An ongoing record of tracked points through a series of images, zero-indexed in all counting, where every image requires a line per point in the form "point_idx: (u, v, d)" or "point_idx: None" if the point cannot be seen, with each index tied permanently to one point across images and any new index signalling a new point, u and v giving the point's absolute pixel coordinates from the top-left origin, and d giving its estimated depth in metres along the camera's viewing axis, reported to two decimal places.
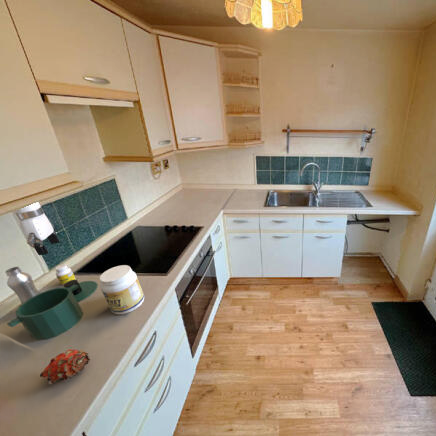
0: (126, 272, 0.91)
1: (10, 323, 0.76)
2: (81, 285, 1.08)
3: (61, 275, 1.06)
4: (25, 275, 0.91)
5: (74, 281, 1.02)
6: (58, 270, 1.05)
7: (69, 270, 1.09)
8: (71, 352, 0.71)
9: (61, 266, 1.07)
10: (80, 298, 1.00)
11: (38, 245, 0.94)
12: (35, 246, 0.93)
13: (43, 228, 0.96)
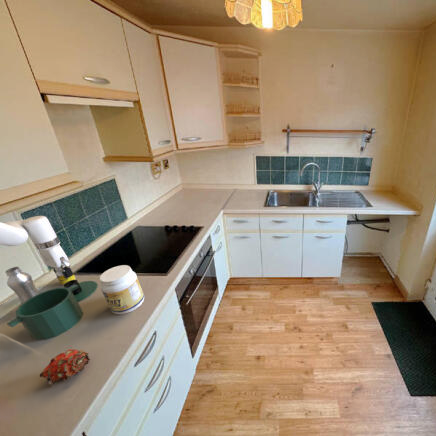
0: (126, 272, 0.91)
1: (10, 323, 0.76)
2: (81, 285, 1.08)
3: (61, 275, 1.06)
4: (25, 275, 0.91)
5: (74, 281, 1.02)
6: (58, 270, 1.05)
7: None
8: (71, 352, 0.71)
9: None
10: (80, 298, 1.00)
11: None
12: (67, 268, 1.05)
13: None
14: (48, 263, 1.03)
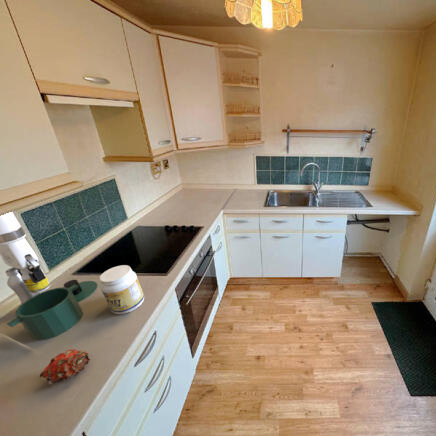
0: (126, 272, 0.91)
1: (10, 323, 0.76)
2: (81, 285, 1.08)
3: (28, 279, 0.80)
4: None
5: (74, 281, 1.02)
6: (24, 272, 0.79)
7: None
8: (71, 352, 0.71)
9: None
10: (80, 298, 1.00)
11: None
12: (36, 270, 0.79)
13: None
14: (9, 263, 0.77)
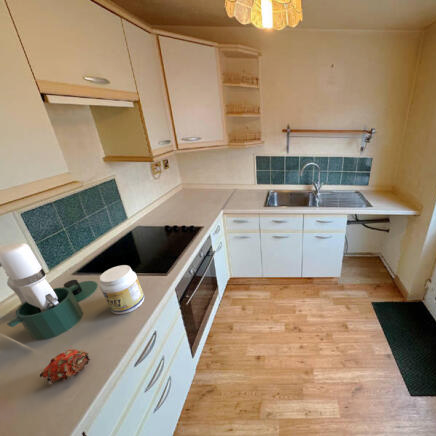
0: (126, 272, 0.91)
1: (10, 323, 0.76)
2: (81, 285, 1.08)
3: None
4: None
5: (74, 281, 1.02)
6: (43, 309, 0.83)
7: None
8: (71, 352, 0.71)
9: None
10: (80, 298, 1.00)
11: None
12: None
13: None
14: (31, 302, 0.81)
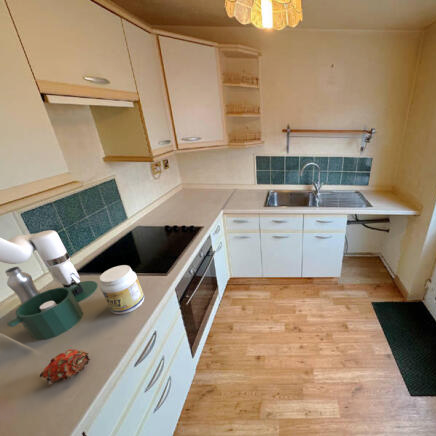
0: (126, 272, 0.91)
1: (10, 323, 0.76)
2: (81, 285, 1.08)
3: None
4: (25, 275, 0.91)
5: None
6: (43, 309, 0.83)
7: None
8: (71, 352, 0.71)
9: (48, 303, 0.85)
10: (80, 298, 1.00)
11: (78, 284, 1.01)
12: None
13: None
14: (57, 280, 0.97)
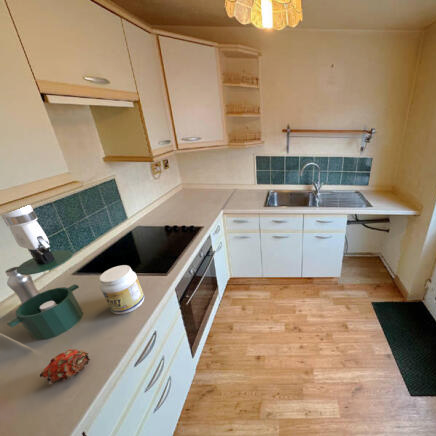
0: (126, 272, 0.91)
1: (10, 323, 0.76)
2: (53, 254, 0.93)
3: None
4: (25, 275, 0.91)
5: None
6: (43, 309, 0.83)
7: None
8: (71, 352, 0.71)
9: (48, 303, 0.85)
10: (50, 266, 0.85)
11: None
12: (46, 251, 0.85)
13: None
14: (22, 244, 0.83)
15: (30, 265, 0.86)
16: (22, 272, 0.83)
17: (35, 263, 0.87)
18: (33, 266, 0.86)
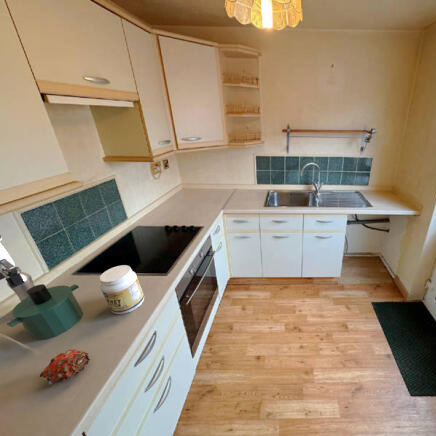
0: (126, 272, 0.91)
1: (10, 323, 0.76)
2: (52, 290, 0.88)
3: None
4: (25, 275, 0.91)
5: (41, 286, 0.83)
6: None
7: None
8: (71, 352, 0.71)
9: None
10: (47, 308, 0.80)
11: None
12: (14, 274, 0.75)
13: None
14: None
15: (27, 305, 0.82)
16: (18, 315, 0.78)
17: (32, 303, 0.83)
18: (30, 306, 0.81)
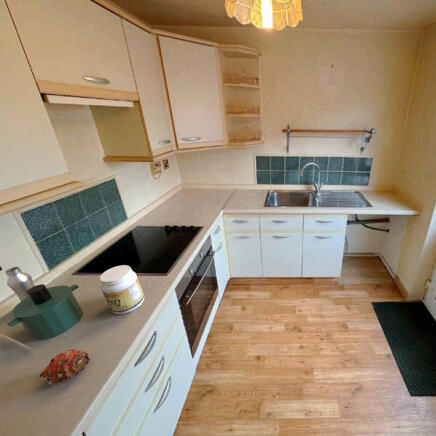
0: (126, 272, 0.91)
1: (10, 323, 0.76)
2: (52, 290, 0.88)
3: None
4: (25, 275, 0.91)
5: (41, 286, 0.83)
6: None
7: None
8: (71, 352, 0.71)
9: None
10: (47, 308, 0.80)
11: None
12: None
13: None
14: None
15: (27, 305, 0.82)
16: (18, 315, 0.78)
17: (32, 303, 0.83)
18: (30, 306, 0.81)
